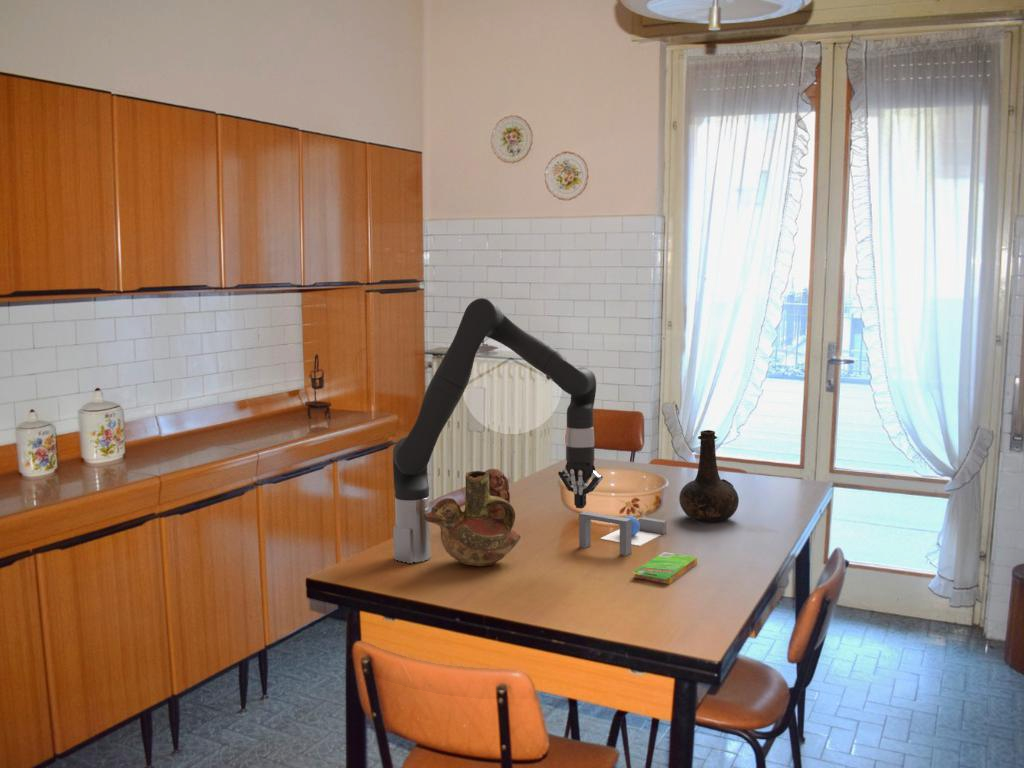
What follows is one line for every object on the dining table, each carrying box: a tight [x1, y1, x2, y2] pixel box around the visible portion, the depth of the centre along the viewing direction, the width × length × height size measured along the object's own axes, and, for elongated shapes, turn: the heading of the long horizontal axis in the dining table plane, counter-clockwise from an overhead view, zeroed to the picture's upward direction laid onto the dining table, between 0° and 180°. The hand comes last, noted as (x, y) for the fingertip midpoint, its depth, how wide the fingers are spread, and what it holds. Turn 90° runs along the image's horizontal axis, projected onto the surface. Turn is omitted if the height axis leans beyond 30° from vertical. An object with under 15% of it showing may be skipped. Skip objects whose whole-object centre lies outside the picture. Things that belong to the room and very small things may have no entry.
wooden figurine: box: [484, 468, 511, 518], centre depth 282 cm, size 12×6×18 cm, turn 143°
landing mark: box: [599, 529, 662, 547], centre depth 271 cm, size 13×13×1 cm
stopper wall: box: [638, 516, 667, 535], centre depth 278 cm, size 2×13×4 cm, turn 54°
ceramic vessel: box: [424, 470, 521, 567], centre depth 246 cm, size 17×26×25 cm, turn 105°
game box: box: [632, 551, 698, 585], centre depth 240 cm, size 3×10×20 cm
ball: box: [618, 515, 640, 536], centre depth 271 cm, size 6×6×6 cm
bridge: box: [578, 510, 632, 557], centre depth 258 cm, size 3×15×10 cm, turn 54°
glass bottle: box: [678, 429, 739, 524], centre depth 287 cm, size 18×18×28 cm
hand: (580, 507), depth 246 cm, fingers closed
